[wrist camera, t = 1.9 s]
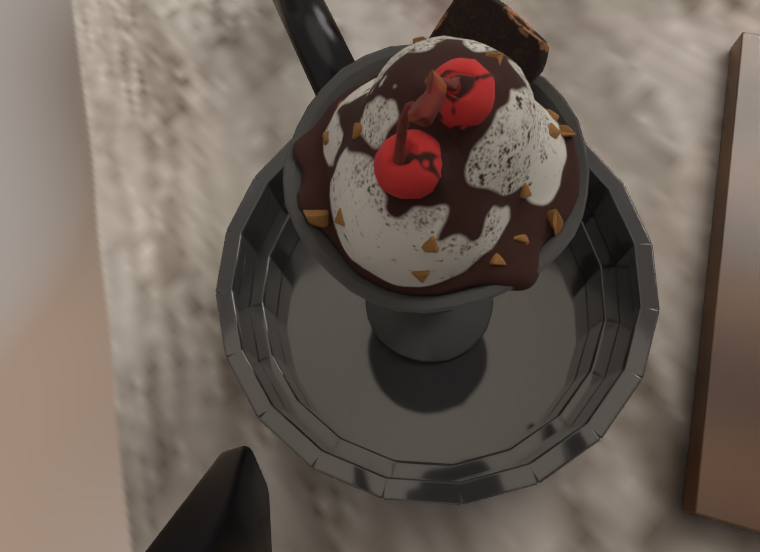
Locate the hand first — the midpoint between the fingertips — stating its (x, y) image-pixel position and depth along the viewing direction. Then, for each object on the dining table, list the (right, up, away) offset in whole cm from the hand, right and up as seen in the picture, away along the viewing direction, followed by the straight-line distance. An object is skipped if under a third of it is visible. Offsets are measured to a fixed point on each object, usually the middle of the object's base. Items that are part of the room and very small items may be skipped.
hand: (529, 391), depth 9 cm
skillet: (0, +1, +13) cm, 13 cm away
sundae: (0, +1, +13) cm, 13 cm away
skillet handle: (-6, +13, +16) cm, 21 cm away
